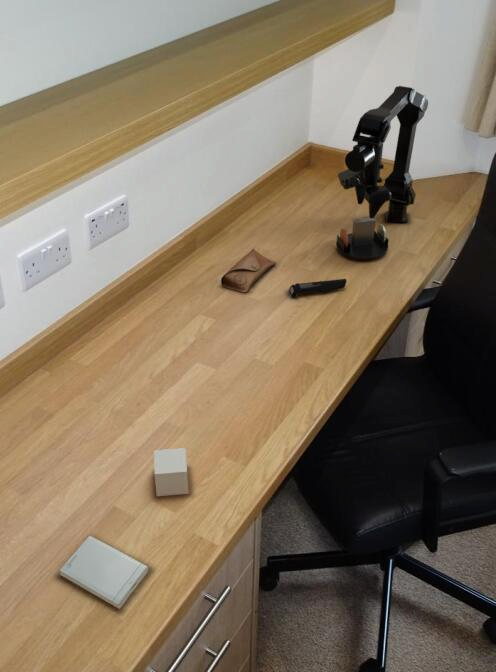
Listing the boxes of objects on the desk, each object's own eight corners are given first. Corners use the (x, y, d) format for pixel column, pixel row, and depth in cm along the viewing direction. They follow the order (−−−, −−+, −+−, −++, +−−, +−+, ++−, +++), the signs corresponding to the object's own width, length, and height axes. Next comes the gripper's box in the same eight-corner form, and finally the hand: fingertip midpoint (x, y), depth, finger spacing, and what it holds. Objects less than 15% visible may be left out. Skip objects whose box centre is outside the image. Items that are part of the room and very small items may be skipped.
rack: (329, 237, 212) (331, 211, 207) (376, 232, 214) (379, 205, 209) (345, 262, 199) (348, 234, 194) (396, 256, 201) (399, 228, 196)
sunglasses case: (248, 292, 189) (236, 271, 187) (228, 297, 193) (217, 277, 192) (277, 262, 201) (267, 242, 200) (258, 268, 206) (248, 248, 204)
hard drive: (58, 570, 117) (118, 603, 112) (90, 534, 123) (147, 564, 118) (60, 576, 118) (119, 610, 113) (91, 540, 124) (148, 571, 119)
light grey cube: (188, 493, 132) (187, 471, 129) (156, 496, 132) (154, 474, 129) (186, 469, 137) (185, 447, 134) (156, 472, 137) (153, 450, 134)
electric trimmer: (347, 292, 189) (348, 282, 187) (291, 298, 186) (292, 288, 185) (343, 285, 192) (344, 275, 190) (288, 291, 190) (288, 281, 188)
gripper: (331, 149, 198) (328, 199, 207) (354, 175, 183) (349, 228, 191) (369, 146, 200) (364, 196, 208) (395, 171, 184) (388, 224, 193)
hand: (365, 210), depth 200 cm, fingers open, 9 cm apart
